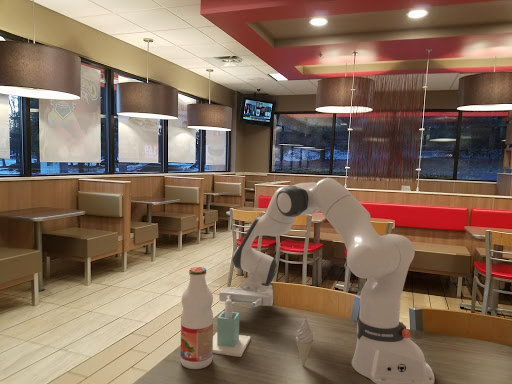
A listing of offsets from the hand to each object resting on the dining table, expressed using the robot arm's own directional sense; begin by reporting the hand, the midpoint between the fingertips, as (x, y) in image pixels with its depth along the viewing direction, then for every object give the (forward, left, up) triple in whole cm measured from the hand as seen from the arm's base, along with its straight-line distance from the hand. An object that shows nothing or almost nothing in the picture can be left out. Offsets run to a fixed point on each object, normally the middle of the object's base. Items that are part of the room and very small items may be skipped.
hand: (241, 303), depth 133 cm
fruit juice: (+7, +24, -10) cm, 27 cm away
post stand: (+1, +12, -9) cm, 16 cm away
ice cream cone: (-24, +18, -10) cm, 32 cm away
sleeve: (+1, +12, -8) cm, 15 cm away
